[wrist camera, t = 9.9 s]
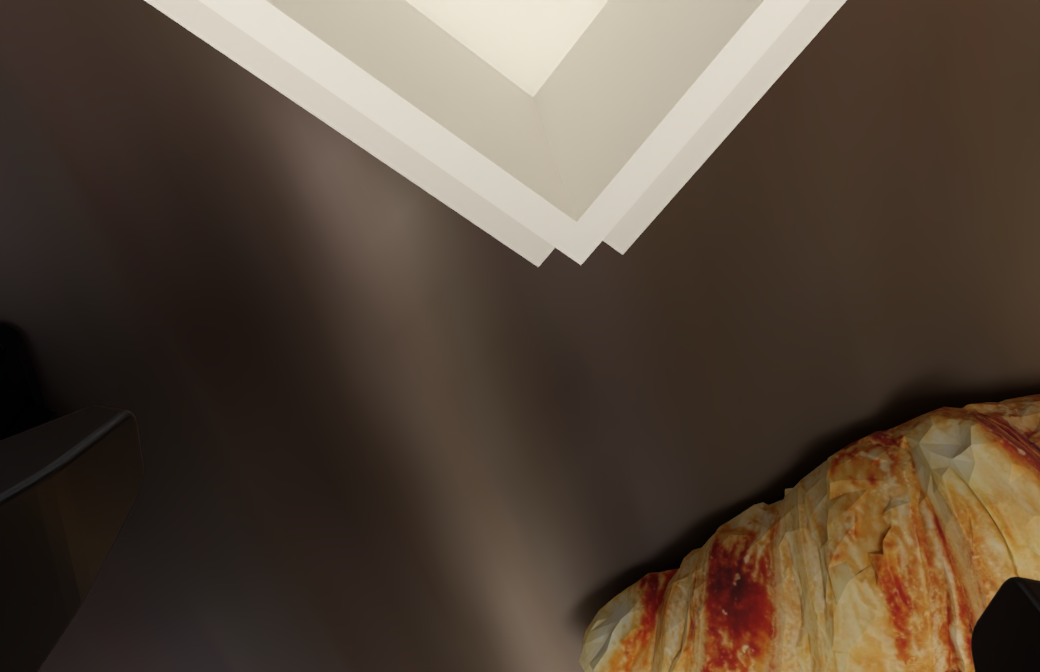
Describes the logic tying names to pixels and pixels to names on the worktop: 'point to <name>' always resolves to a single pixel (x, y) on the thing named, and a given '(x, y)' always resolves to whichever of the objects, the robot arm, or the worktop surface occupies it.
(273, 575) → the worktop surface
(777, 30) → the carton
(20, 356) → the robot arm
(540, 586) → the worktop surface
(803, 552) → the croissant
